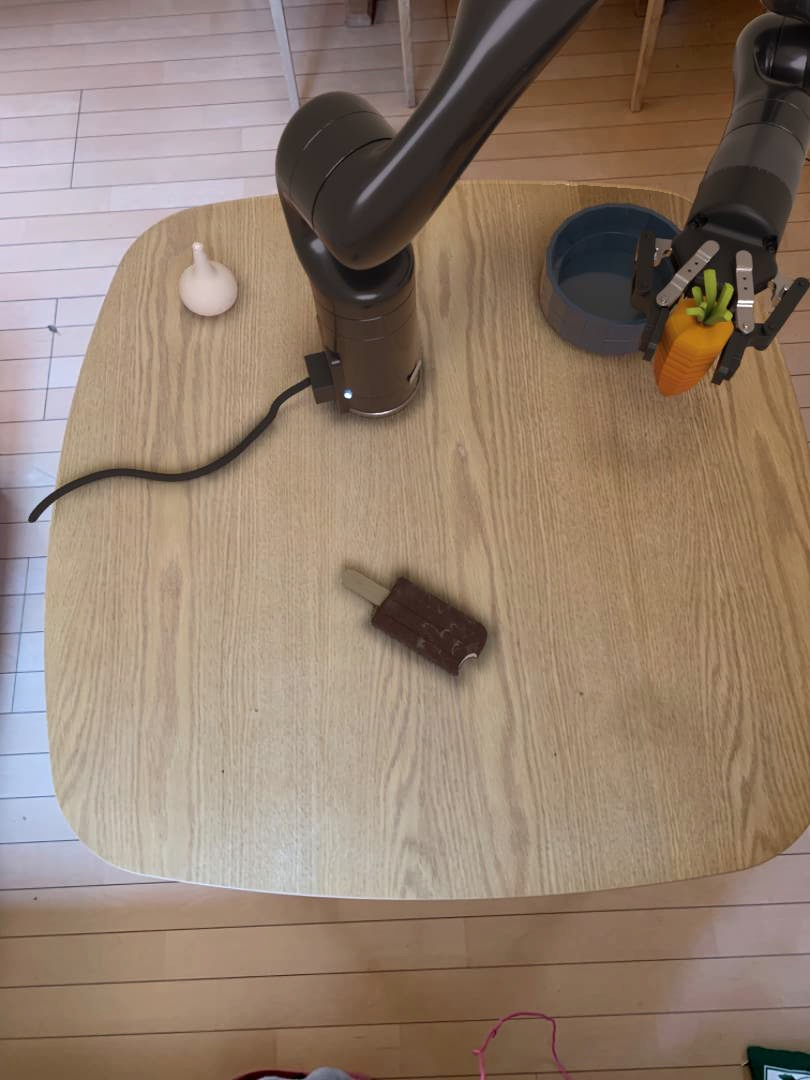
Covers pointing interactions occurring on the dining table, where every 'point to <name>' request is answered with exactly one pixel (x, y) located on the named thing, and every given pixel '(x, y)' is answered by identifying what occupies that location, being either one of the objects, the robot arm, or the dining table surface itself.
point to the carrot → (693, 338)
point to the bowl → (600, 276)
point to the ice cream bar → (421, 621)
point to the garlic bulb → (207, 285)
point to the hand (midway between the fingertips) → (683, 366)
